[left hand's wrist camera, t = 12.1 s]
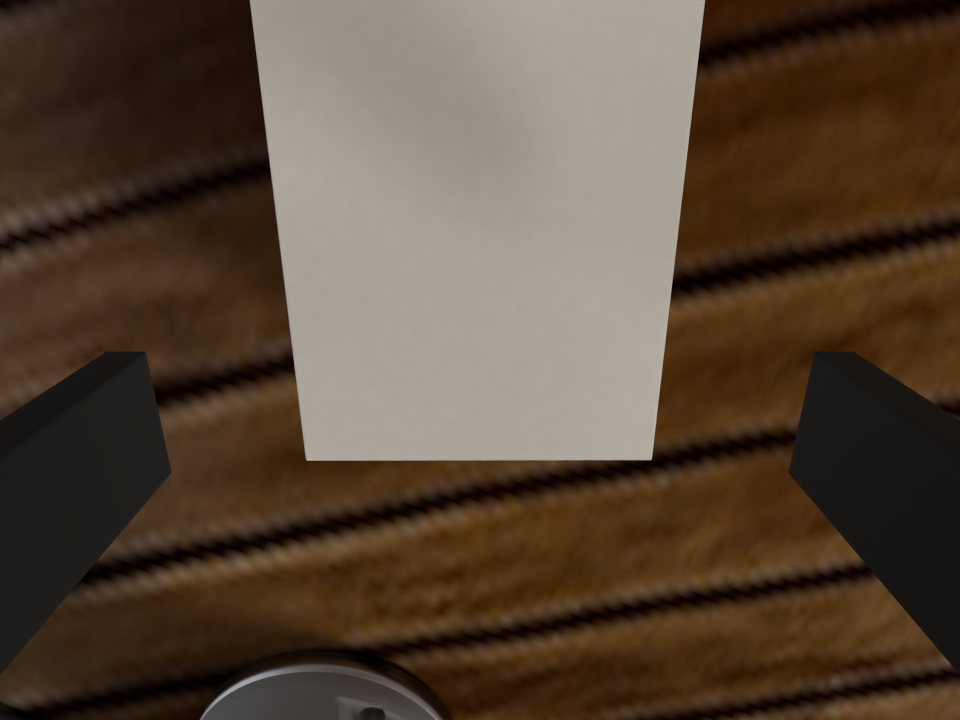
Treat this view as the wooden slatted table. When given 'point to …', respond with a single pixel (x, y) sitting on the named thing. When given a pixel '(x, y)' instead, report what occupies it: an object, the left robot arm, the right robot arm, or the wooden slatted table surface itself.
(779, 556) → the wooden slatted table surface
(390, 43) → the cabinet
